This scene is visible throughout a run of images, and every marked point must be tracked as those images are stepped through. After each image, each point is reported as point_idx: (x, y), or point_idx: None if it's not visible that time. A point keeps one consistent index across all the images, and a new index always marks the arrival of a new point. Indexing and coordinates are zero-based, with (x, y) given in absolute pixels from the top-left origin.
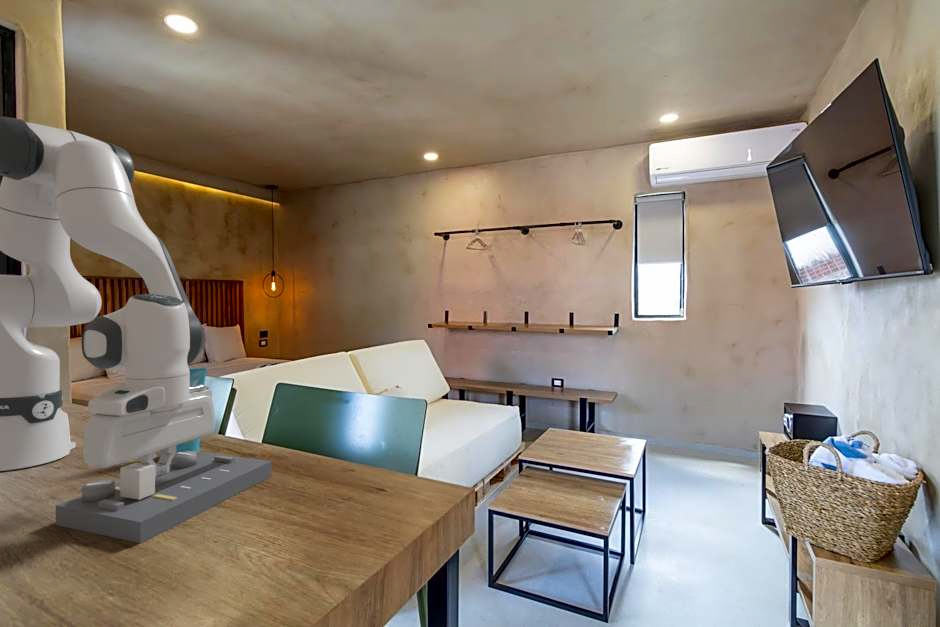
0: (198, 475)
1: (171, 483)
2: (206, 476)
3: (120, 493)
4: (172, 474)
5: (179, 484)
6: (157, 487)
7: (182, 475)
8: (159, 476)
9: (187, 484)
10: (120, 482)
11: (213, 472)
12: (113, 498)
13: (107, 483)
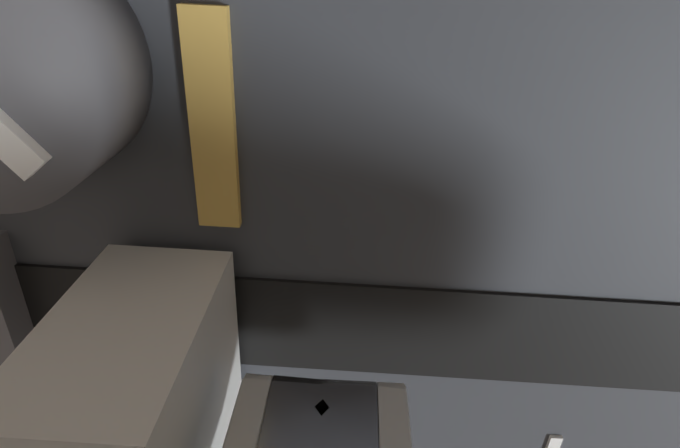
0: (606, 392)
1: (426, 350)
2: (589, 442)
3: (97, 259)
4: (624, 208)
5: (431, 392)
6: (336, 325)
7: (589, 311)
8: (566, 139)
9: (439, 431)
10: (48, 314)
11: (670, 437)
12: (87, 197)
13: (9, 160)
